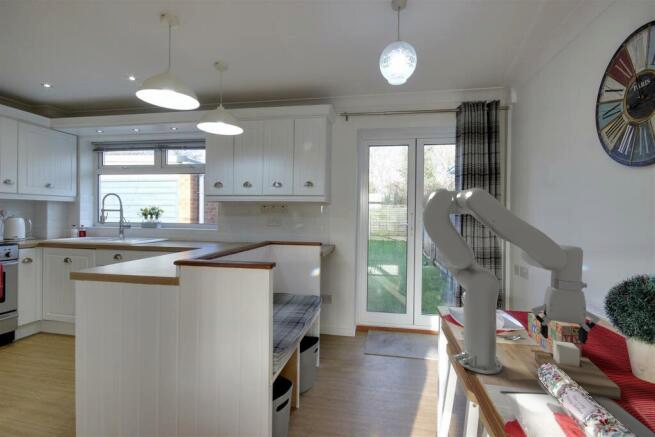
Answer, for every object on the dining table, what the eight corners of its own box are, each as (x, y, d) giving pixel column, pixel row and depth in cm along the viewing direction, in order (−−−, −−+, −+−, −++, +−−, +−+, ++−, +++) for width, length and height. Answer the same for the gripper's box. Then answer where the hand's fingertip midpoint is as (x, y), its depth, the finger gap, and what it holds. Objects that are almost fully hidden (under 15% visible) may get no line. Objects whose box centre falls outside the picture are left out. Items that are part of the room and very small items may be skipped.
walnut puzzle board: (620, 399, 78) (620, 388, 78) (556, 389, 83) (556, 378, 83) (586, 366, 95) (586, 357, 95) (535, 359, 100) (535, 350, 99)
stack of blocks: (527, 335, 120) (527, 305, 119) (544, 336, 119) (544, 306, 119) (561, 361, 98) (561, 324, 98) (582, 363, 98) (582, 325, 97)
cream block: (579, 372, 90) (579, 349, 90) (559, 369, 91) (559, 347, 91) (572, 364, 94) (572, 343, 94) (553, 362, 96) (553, 340, 96)
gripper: (593, 285, 93) (591, 339, 94) (529, 279, 99) (527, 330, 99) (607, 291, 86) (604, 349, 87) (537, 284, 92) (534, 339, 92)
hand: (562, 339), depth 93 cm, fingers open, 9 cm apart
